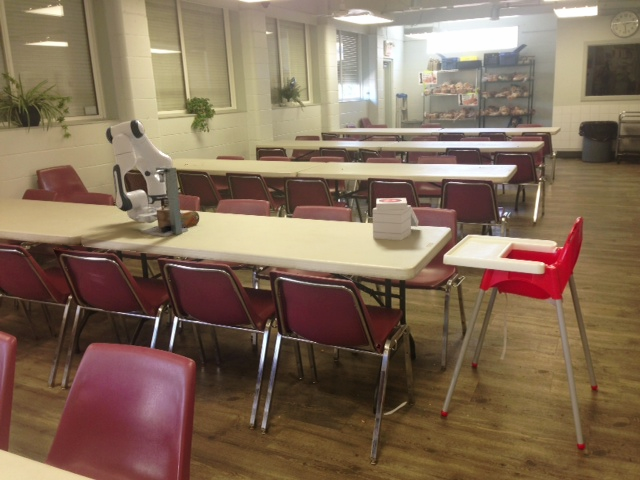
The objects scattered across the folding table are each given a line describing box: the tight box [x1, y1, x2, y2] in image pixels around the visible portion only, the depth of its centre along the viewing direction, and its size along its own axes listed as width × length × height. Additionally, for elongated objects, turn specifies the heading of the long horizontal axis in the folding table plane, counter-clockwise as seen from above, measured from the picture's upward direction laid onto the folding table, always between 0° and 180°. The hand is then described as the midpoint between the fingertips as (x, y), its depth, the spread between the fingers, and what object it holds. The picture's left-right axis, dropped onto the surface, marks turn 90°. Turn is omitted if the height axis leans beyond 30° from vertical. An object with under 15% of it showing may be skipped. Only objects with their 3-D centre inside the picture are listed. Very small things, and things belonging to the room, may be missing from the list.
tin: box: [181, 210, 200, 228], centre depth 331 cm, size 15×3×8 cm, turn 143°
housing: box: [157, 206, 171, 230], centre depth 317 cm, size 5×5×13 cm
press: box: [141, 166, 189, 238], centre depth 311 cm, size 22×22×36 cm
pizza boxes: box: [372, 197, 419, 241], centre depth 293 cm, size 19×30×18 cm, turn 153°
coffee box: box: [161, 196, 169, 209], centre depth 339 cm, size 9×6×16 cm
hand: (164, 217), depth 316 cm, fingers open, 8 cm apart
